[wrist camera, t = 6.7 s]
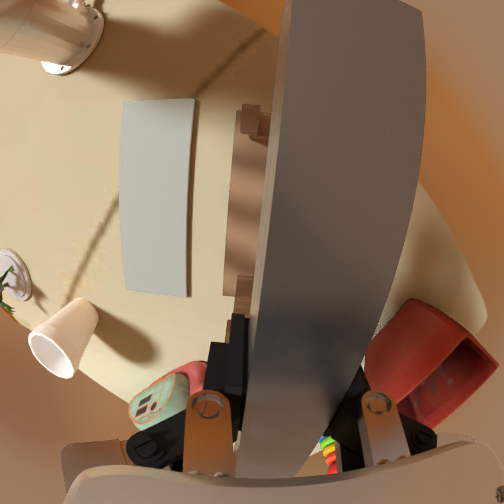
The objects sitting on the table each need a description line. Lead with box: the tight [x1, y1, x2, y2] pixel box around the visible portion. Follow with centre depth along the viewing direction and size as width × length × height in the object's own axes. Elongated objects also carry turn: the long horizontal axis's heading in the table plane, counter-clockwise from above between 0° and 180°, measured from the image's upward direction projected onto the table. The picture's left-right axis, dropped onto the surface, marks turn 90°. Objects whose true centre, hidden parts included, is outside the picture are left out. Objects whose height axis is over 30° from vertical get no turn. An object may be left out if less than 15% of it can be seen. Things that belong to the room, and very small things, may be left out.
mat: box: [119, 99, 196, 298], centre depth 35 cm, size 28×10×1 cm, turn 175°
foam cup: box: [28, 298, 99, 379], centre depth 36 cm, size 10×9×13 cm
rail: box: [234, 0, 426, 479], centre depth 9 cm, size 24×3×3 cm, turn 175°
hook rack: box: [223, 104, 271, 343], centre depth 28 cm, size 25×9×16 cm, turn 175°
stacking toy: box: [318, 435, 337, 474], centre depth 43 cm, size 8×8×19 cm
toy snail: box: [129, 361, 207, 431], centre depth 42 cm, size 25×8×14 cm, turn 132°
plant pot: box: [364, 298, 499, 429], centre depth 36 cm, size 19×19×17 cm
